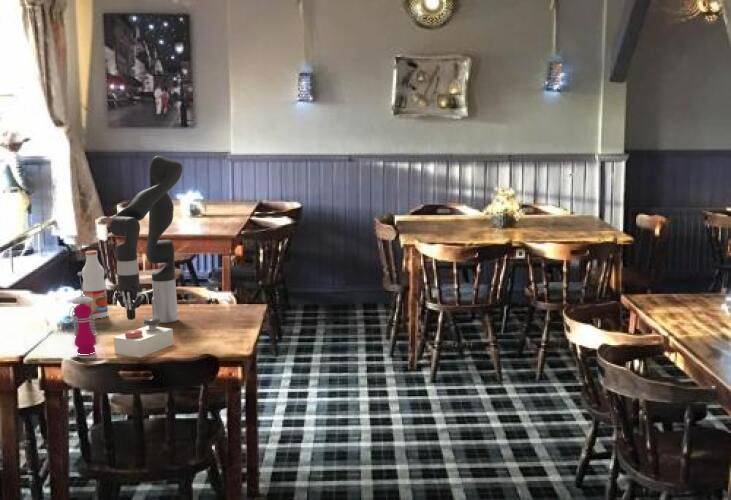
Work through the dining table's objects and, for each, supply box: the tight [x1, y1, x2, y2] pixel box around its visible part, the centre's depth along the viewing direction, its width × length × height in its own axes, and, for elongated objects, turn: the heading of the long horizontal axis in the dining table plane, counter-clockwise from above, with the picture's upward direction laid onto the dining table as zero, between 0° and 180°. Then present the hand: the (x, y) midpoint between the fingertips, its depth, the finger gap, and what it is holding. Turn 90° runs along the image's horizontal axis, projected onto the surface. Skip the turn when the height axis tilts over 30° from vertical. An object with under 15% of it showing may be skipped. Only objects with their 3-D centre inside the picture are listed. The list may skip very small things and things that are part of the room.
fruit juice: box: [81, 250, 109, 319], centre depth 393 cm, size 9×9×28 cm
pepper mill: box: [73, 300, 97, 354], centre depth 340 cm, size 7×7×20 cm
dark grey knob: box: [143, 317, 162, 332], centre depth 348 cm, size 6×6×5 cm
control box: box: [113, 325, 174, 358], centre depth 345 cm, size 12×18×6 cm, turn 151°
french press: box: [68, 271, 98, 336], centre depth 365 cm, size 10×12×25 cm
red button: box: [124, 329, 142, 338], centre depth 340 cm, size 6×6×5 cm
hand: (131, 319), depth 339 cm, fingers closed
